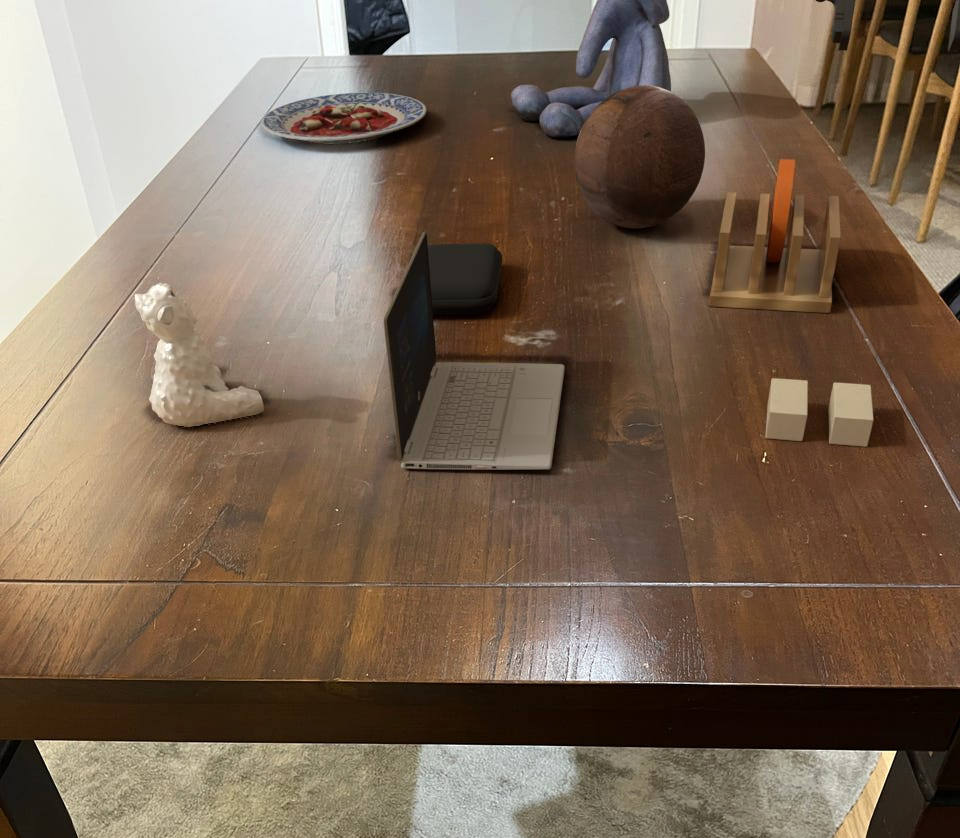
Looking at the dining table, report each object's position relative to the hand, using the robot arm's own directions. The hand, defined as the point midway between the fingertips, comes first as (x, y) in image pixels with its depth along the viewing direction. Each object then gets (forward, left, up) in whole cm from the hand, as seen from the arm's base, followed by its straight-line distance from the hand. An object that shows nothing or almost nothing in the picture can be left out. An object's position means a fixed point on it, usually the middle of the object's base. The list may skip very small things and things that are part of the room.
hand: (899, 45), depth 81 cm
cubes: (+4, +18, -25) cm, 31 cm away
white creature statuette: (+58, +20, -25) cm, 66 cm away
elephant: (+29, -76, -25) cm, 85 cm away
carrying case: (+40, -8, -25) cm, 48 cm away
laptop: (+32, +19, -25) cm, 45 cm away
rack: (+6, -12, -25) cm, 28 cm away
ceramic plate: (+68, -70, -25) cm, 101 cm away
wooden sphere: (+21, -29, -25) cm, 44 cm away
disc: (+6, -13, -22) cm, 26 cm away
